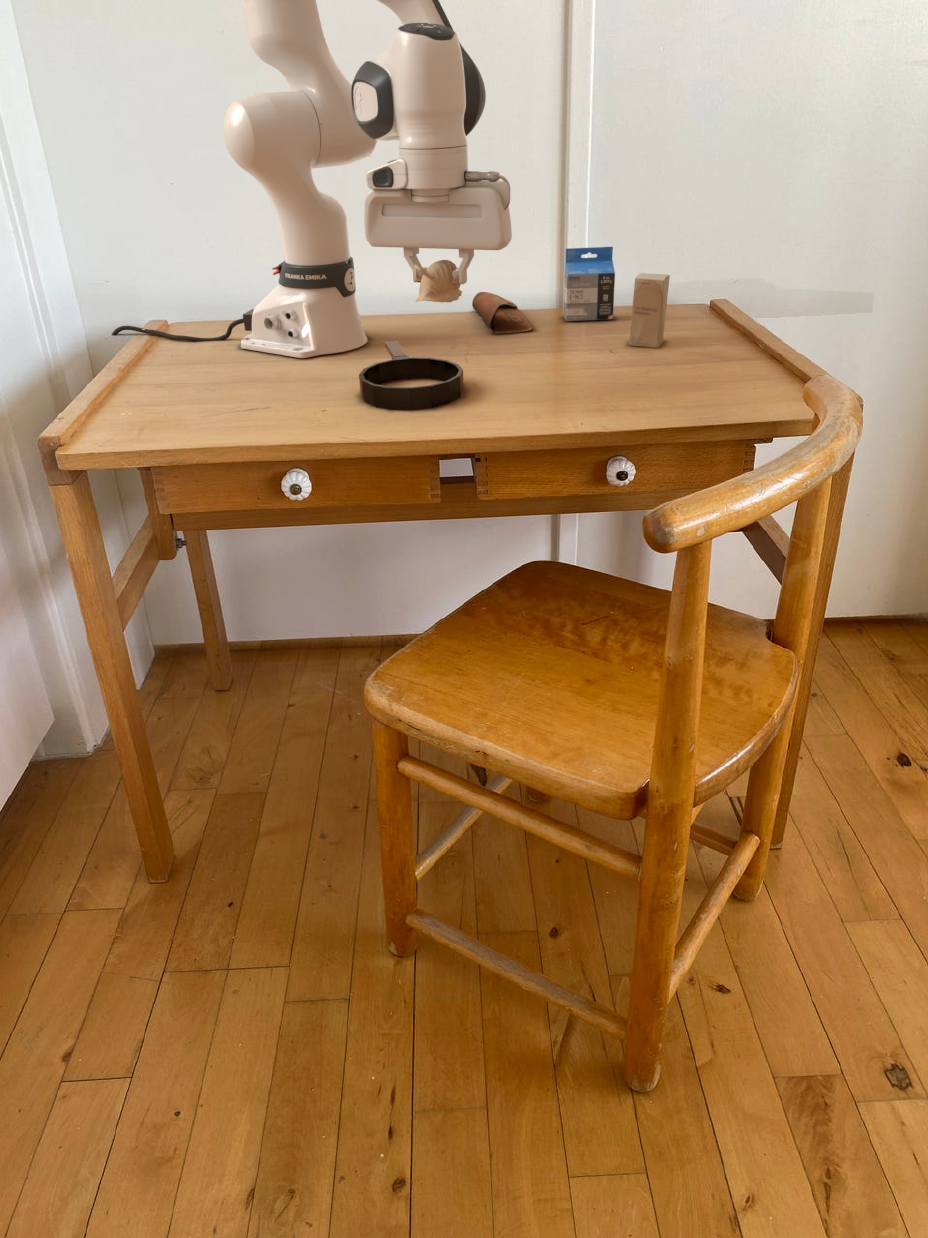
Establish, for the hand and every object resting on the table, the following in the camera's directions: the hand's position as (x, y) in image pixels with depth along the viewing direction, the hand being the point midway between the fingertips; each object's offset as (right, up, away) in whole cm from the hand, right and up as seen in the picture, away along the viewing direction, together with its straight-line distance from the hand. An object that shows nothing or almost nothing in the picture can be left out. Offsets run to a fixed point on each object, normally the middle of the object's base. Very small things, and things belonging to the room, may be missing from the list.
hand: (439, 282), depth 127 cm
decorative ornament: (0, -2, +1) cm, 3 cm away
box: (+34, 0, +30) cm, 46 cm away
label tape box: (+27, +10, +46) cm, 54 cm away
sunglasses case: (+10, +9, +46) cm, 48 cm away
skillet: (-6, -10, +16) cm, 20 cm away
